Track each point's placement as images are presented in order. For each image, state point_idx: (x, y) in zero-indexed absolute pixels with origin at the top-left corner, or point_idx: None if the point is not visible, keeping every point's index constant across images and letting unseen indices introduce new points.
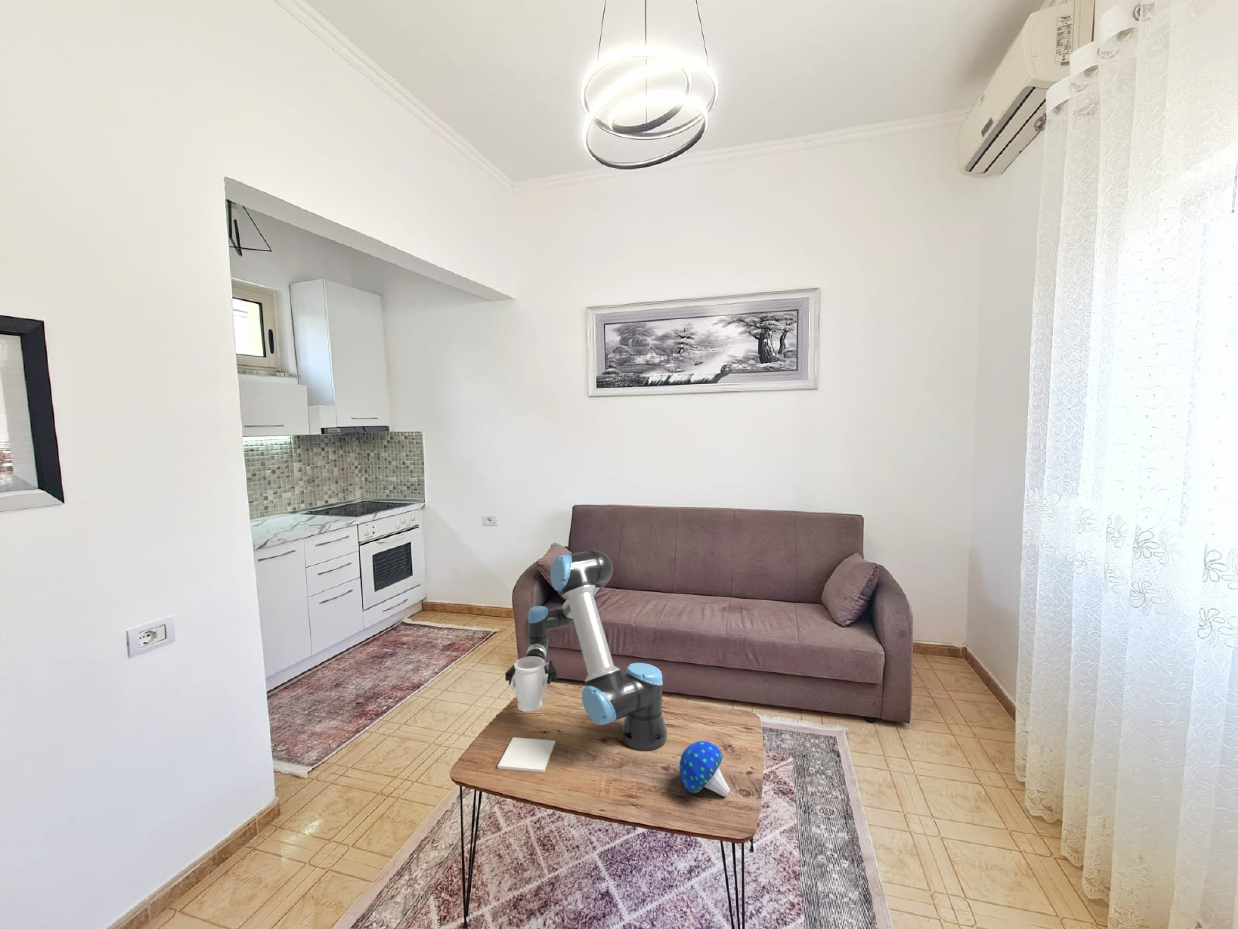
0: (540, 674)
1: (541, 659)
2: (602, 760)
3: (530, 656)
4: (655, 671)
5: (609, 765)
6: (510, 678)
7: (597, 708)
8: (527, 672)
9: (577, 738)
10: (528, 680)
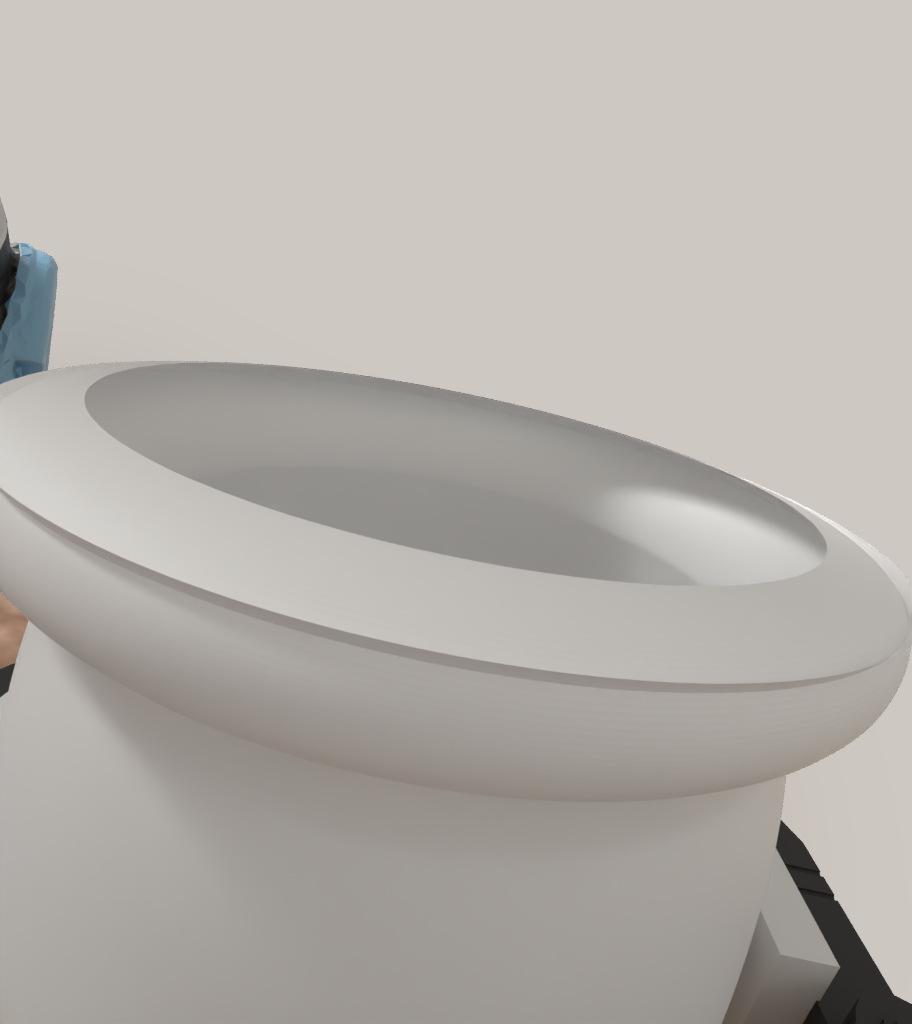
0: (254, 502)
1: (80, 389)
2: (3, 647)
3: (489, 647)
4: None
5: (3, 620)
6: (818, 901)
7: (49, 349)
8: (477, 429)
9: None
10: (440, 541)
